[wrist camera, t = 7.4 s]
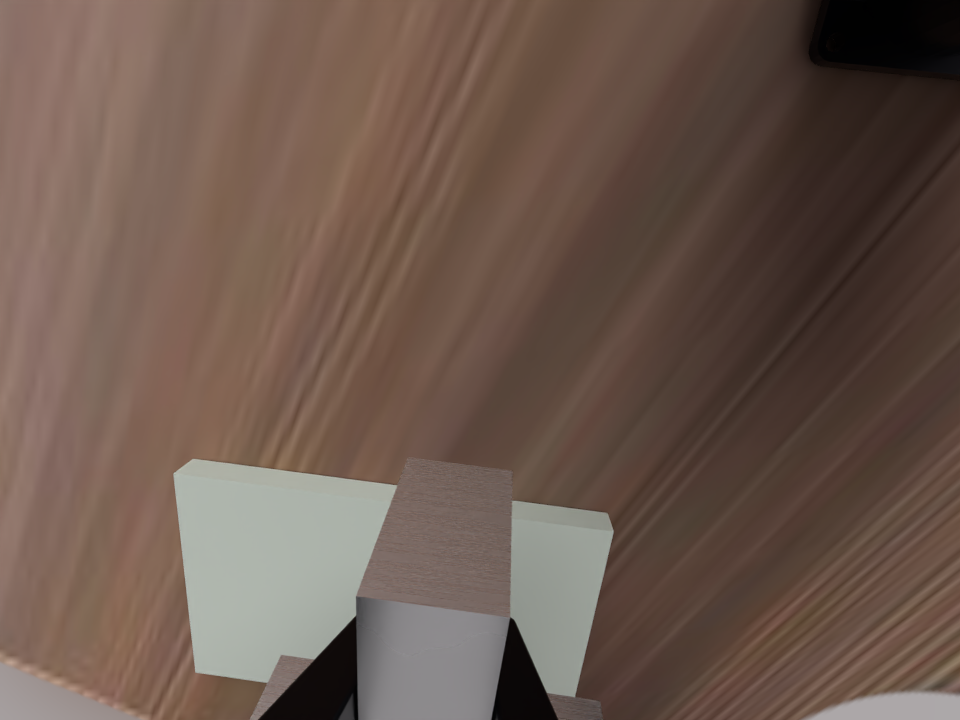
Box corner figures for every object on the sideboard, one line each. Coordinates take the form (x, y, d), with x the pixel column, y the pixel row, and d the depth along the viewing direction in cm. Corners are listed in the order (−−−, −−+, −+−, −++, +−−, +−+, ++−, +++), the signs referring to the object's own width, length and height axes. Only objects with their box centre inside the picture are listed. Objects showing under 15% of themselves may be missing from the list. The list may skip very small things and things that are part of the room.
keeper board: (607, 512, 19) (641, 613, 14) (564, 700, 22) (580, 834, 17) (193, 458, 19) (87, 537, 15) (211, 649, 23) (130, 766, 18)
